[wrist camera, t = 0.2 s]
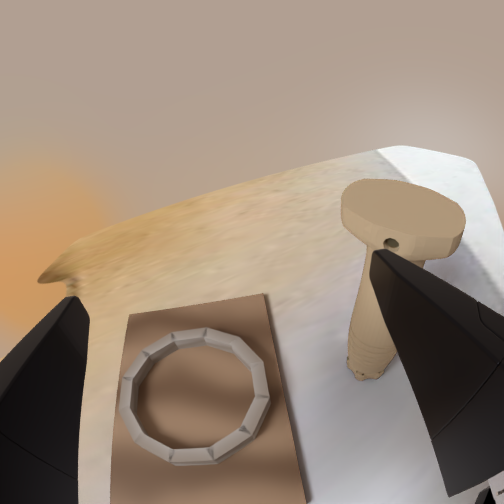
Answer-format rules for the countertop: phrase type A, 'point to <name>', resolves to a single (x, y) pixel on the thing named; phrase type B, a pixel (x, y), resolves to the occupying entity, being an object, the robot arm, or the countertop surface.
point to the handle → (398, 241)
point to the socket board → (202, 410)
